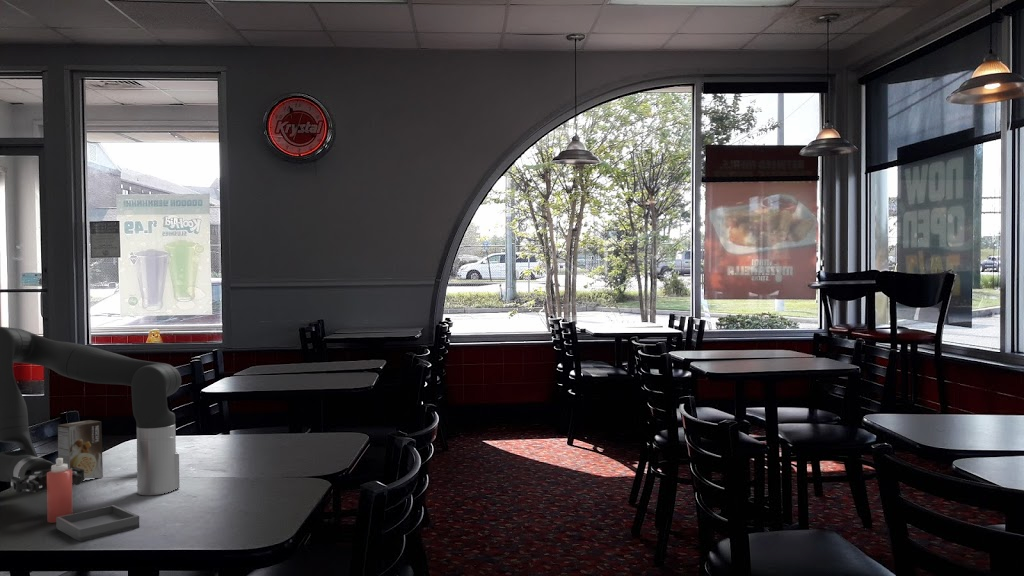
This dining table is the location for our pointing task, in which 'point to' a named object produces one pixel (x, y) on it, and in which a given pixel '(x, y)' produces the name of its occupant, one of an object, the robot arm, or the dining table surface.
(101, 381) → the robot arm
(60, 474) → the bottle
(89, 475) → the coffee box
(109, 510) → the tray
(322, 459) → the dining table surface
